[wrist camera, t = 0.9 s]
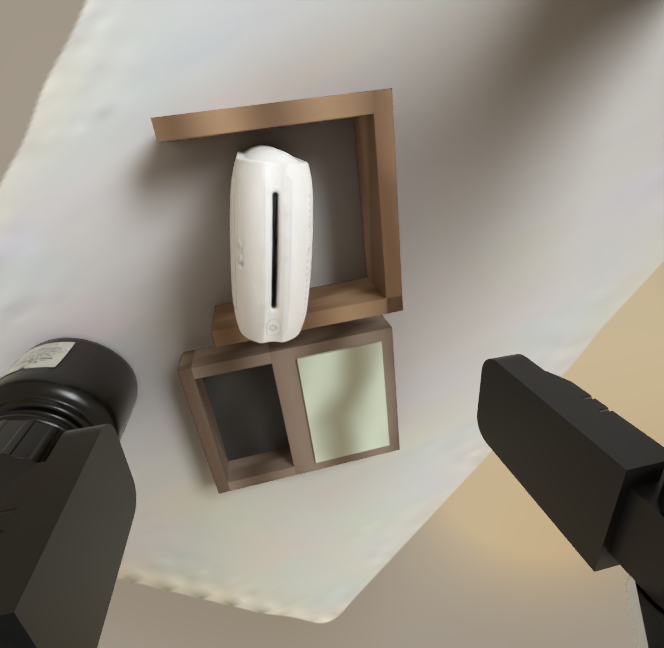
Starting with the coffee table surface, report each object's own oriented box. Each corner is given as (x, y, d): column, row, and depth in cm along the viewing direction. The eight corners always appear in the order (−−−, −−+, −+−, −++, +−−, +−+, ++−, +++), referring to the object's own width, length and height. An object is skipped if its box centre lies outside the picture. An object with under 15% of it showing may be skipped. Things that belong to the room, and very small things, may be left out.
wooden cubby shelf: (368, 96, 28) (391, 88, 24) (382, 288, 34) (402, 310, 30) (166, 121, 27) (150, 117, 22) (219, 319, 33) (215, 347, 28)
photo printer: (289, 285, 33) (313, 358, 22) (235, 284, 32) (231, 361, 21) (294, 147, 29) (326, 151, 18) (232, 142, 28) (225, 142, 17)
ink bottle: (47, 310, 30) (-62, 404, 19) (161, 362, 33) (122, 468, 23) (-5, 406, 32) (-130, 540, 21) (106, 447, 35) (48, 579, 25)
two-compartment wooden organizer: (380, 313, 35) (392, 328, 33) (389, 429, 41) (400, 450, 38) (182, 352, 33) (177, 372, 30) (220, 469, 39) (218, 495, 36)
